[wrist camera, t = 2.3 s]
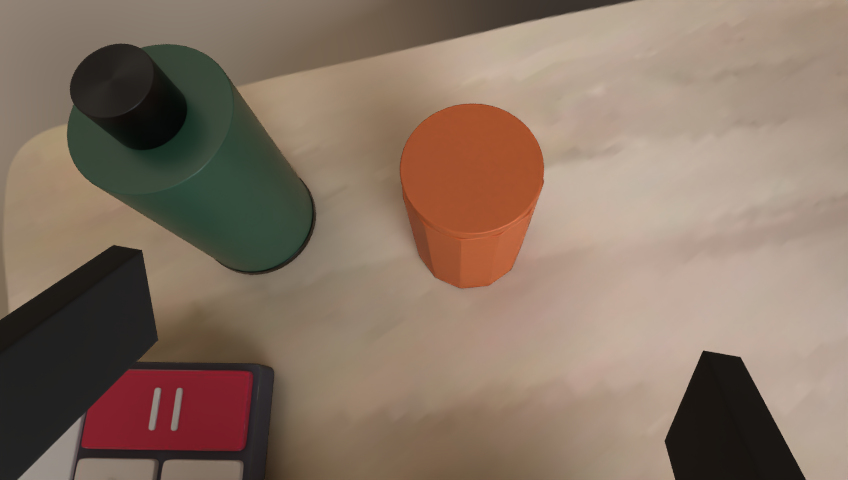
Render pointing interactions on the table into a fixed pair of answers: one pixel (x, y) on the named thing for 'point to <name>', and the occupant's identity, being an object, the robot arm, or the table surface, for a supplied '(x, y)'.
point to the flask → (188, 154)
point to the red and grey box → (169, 426)
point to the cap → (470, 191)
